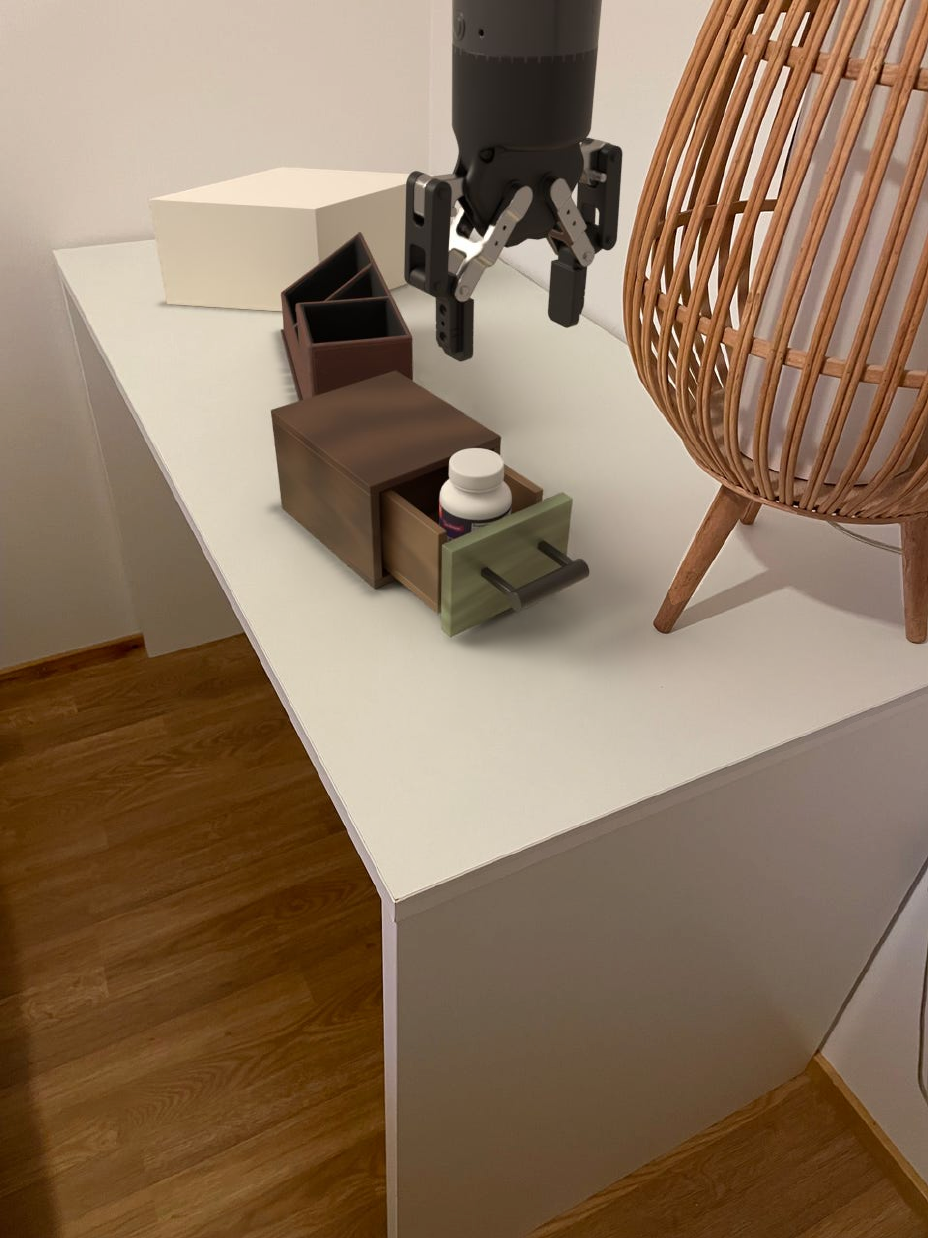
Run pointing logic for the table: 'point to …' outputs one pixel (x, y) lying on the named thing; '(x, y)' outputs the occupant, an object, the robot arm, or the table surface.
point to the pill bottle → (473, 492)
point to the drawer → (477, 551)
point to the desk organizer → (343, 324)
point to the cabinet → (364, 459)
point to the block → (274, 233)
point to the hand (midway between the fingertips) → (512, 338)
